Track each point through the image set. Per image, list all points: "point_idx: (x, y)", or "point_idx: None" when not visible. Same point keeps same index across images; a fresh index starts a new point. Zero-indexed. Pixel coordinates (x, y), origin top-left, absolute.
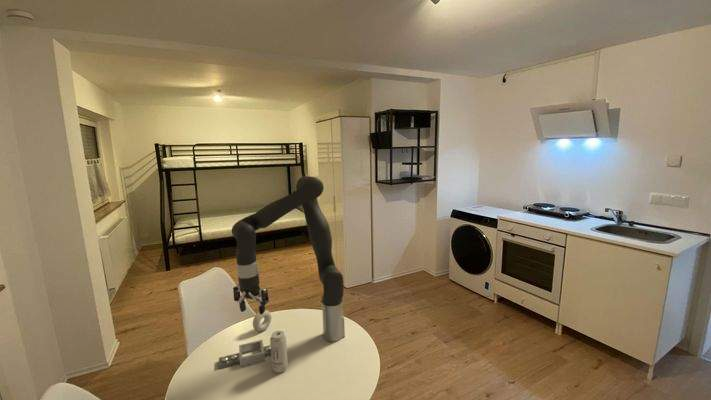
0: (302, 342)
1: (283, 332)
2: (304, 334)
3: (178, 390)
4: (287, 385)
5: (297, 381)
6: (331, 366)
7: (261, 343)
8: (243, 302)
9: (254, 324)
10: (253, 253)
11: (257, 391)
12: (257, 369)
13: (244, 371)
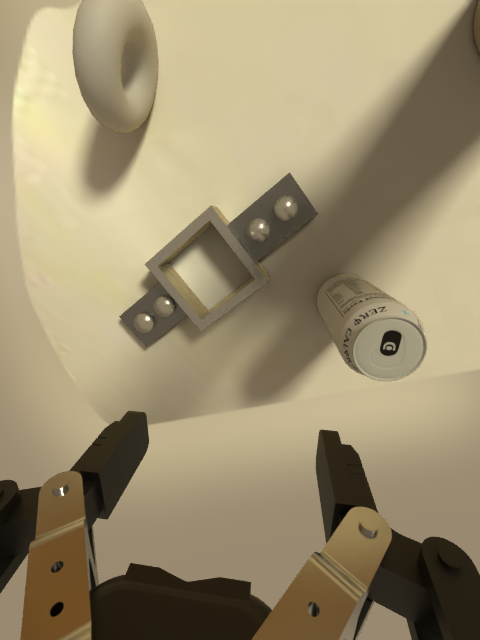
0: (373, 125)
1: (418, 327)
2: (361, 55)
3: None
4: None
5: None
6: None
7: (223, 230)
8: (105, 492)
9: (113, 128)
10: None
11: (315, 390)
12: (267, 318)
13: (232, 334)
